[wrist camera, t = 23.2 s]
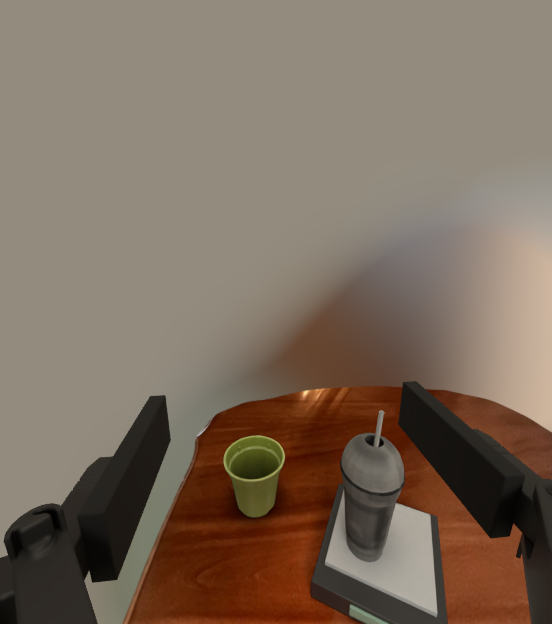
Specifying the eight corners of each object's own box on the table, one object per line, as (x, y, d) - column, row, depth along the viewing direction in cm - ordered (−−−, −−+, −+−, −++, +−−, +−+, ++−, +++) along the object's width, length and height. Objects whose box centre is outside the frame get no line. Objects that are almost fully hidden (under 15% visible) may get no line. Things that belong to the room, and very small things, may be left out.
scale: (309, 599, 33) (310, 580, 33) (338, 495, 47) (339, 479, 46) (447, 672, 28) (452, 651, 27) (435, 529, 41) (437, 513, 40)
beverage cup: (382, 516, 40) (397, 388, 35) (405, 575, 33) (427, 426, 28) (330, 516, 40) (337, 388, 35) (342, 575, 33) (353, 426, 28)
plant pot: (224, 533, 41) (221, 484, 39) (227, 479, 50) (225, 437, 48) (289, 525, 42) (289, 477, 40) (280, 474, 51) (280, 432, 49)
